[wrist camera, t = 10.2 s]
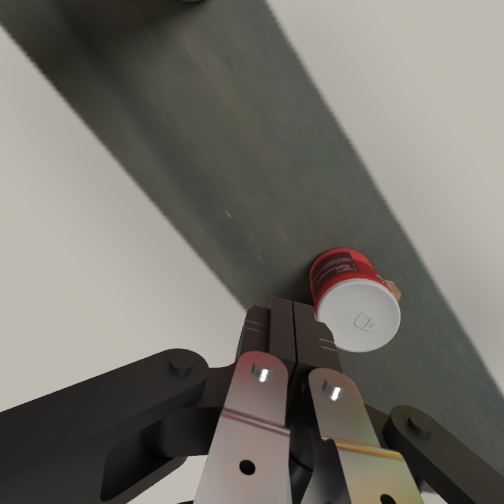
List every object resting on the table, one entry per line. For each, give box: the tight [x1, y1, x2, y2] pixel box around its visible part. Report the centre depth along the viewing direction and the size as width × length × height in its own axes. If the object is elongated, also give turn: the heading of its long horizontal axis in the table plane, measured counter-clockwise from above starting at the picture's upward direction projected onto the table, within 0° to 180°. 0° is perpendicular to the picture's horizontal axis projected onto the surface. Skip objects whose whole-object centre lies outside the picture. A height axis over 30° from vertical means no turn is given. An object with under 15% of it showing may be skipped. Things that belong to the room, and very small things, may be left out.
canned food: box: [310, 248, 401, 352], centre depth 39 cm, size 8×8×11 cm
